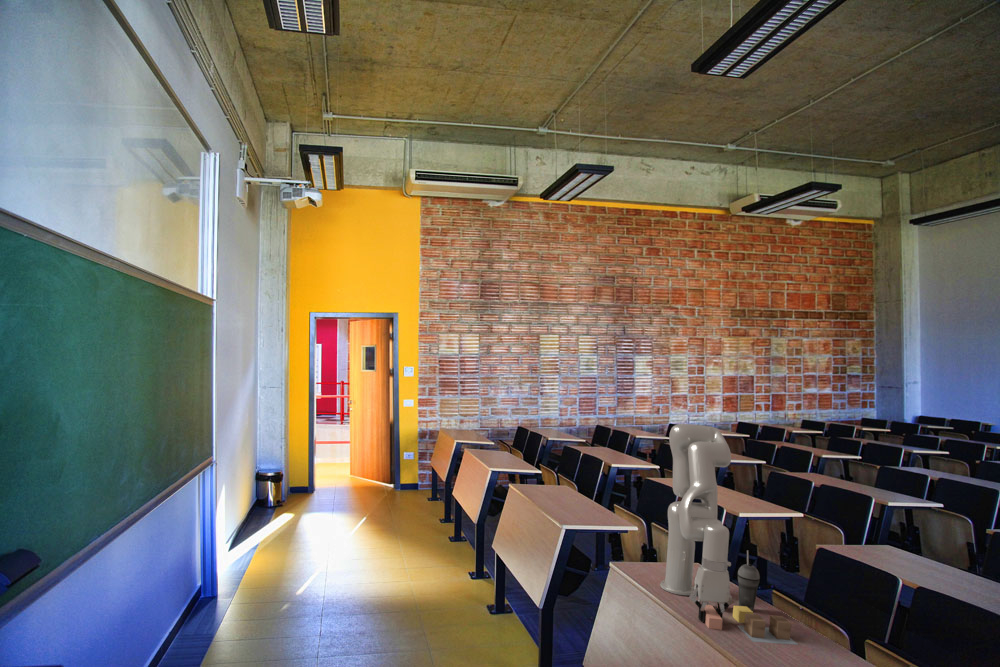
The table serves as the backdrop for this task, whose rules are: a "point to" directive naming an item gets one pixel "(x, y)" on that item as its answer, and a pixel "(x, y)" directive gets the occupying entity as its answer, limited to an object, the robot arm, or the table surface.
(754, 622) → the block
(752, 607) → the beverage cup
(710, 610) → the beam
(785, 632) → the pier
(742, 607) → the cube
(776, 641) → the board
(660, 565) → the table surface
